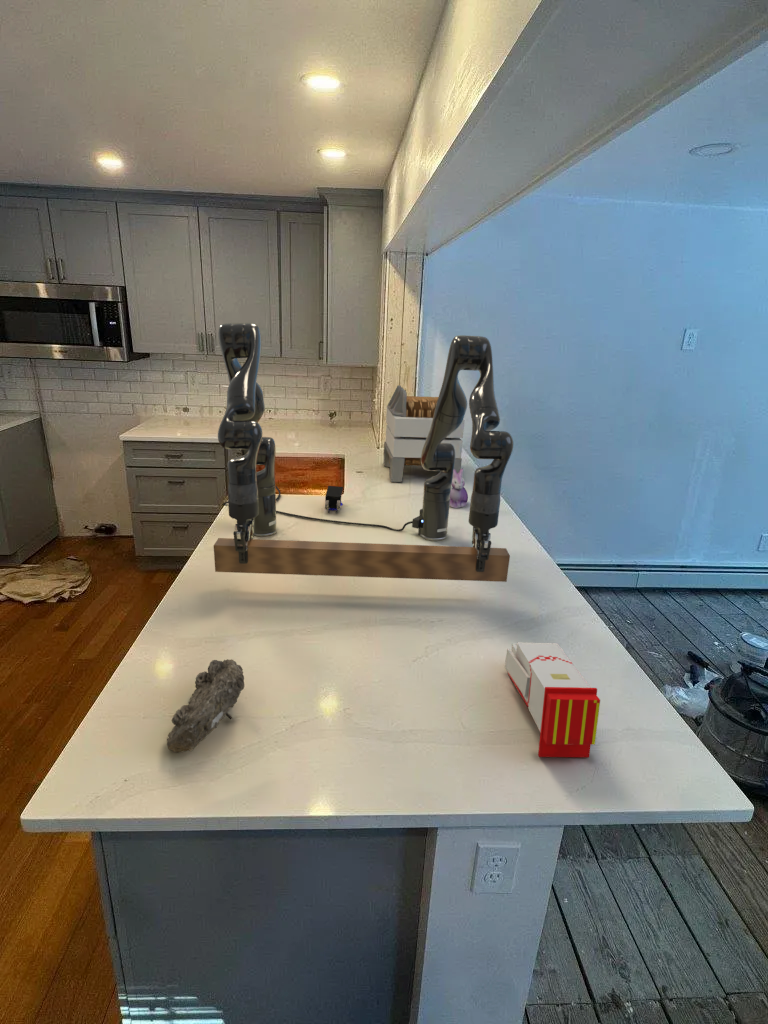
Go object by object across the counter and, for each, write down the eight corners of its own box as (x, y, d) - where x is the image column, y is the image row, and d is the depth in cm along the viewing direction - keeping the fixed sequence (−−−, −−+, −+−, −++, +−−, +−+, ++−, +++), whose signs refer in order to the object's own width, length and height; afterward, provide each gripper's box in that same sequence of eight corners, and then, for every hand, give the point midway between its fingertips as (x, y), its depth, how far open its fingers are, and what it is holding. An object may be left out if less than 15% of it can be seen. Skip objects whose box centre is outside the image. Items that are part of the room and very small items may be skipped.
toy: (553, 625, 127) (610, 695, 97) (548, 680, 129) (601, 765, 100) (500, 624, 126) (540, 694, 97) (495, 679, 129) (533, 764, 100)
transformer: (382, 463, 289) (386, 382, 275) (445, 464, 293) (451, 384, 279) (390, 482, 257) (394, 392, 243) (460, 483, 261) (468, 394, 247)
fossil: (192, 660, 117) (244, 628, 112) (224, 691, 120) (276, 661, 115) (142, 746, 98) (202, 712, 93) (182, 779, 101) (242, 748, 96)
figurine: (454, 509, 226) (458, 473, 221) (440, 502, 235) (443, 467, 229) (474, 507, 230) (477, 471, 225) (459, 499, 239) (463, 465, 234)
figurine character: (341, 518, 215) (343, 501, 228) (341, 500, 212) (343, 484, 225) (323, 518, 215) (326, 501, 228) (323, 500, 211) (326, 484, 225)
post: (502, 573, 156) (506, 548, 153) (506, 581, 151) (510, 555, 149) (220, 563, 154) (218, 537, 151) (215, 571, 149) (213, 545, 147)
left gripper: (235, 489, 152) (238, 547, 158) (221, 507, 138) (224, 570, 144) (263, 490, 152) (265, 548, 158) (252, 508, 138) (254, 571, 144)
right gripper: (466, 497, 153) (460, 555, 159) (474, 516, 140) (468, 578, 146) (493, 498, 153) (487, 556, 159) (504, 517, 140) (497, 579, 146)
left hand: (245, 558), depth 151 cm, fingers closed on post, 5 cm apart
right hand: (478, 566), depth 152 cm, fingers closed on post, 5 cm apart
